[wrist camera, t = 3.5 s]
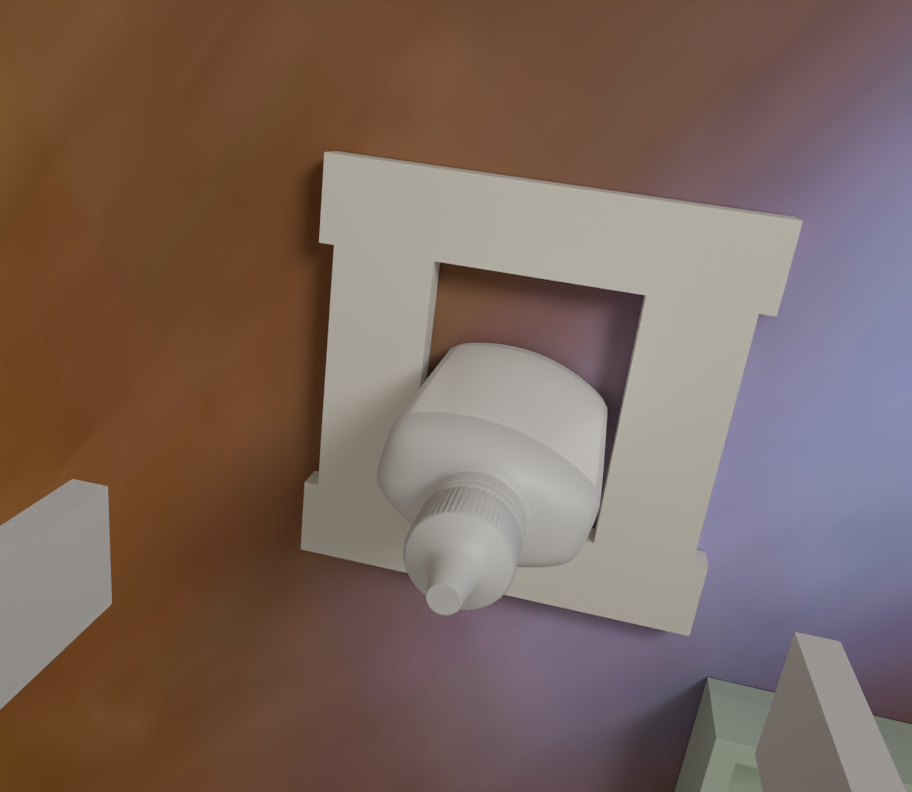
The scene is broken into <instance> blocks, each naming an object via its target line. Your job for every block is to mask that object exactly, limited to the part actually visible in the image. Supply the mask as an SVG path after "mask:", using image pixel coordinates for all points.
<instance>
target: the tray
mask: <svg viewBox="0 0 912 792" xmlns="http://www.w3.org/2000/svg"><path fill="white" fill-rule="evenodd" d="M774 694H775V693H774V692H769V691H765V690H761V689H756V688H752V687H748V686H743V685H739V684H735V683H730V682H726V681H721V680H717V679H713V678H707V681H706V684H705V688H704V691H703V695H702V698H701V702H700V705H699V709H698V712H697V716H696V719H695V722H694V726H693V729H692V733H691V736H690V740H689V743H688V747H687V750H686V753H685V757H684V760H683V764H682V767H681V771H680V774H679V778H678V781H677V785H676V788H675V791H674V792H763V788H762V784H761V779H760V775H759V770H758V766H757V761H756V757H755V752H756V749H757V746H758V743H759V740H760V737H761V734H762V731H763V728H764V724H765V721H766V718H767V715H768V712H769V709H770V706H771V703H772V700H773V697H774ZM873 717H874V719H875V722H876V724H877V726H878V728H879V731H880V733H881V735H882V738H883V740H884V742H885V744H886V747H887V749H888V751H889V754H890V756H891V758H892V760H893V763H894V765H895V767H896V770H897V772H898V774H899V776H900V779H901V781H902V783H903V786H904V788H905V790H906V792H912V724H908V723H904V722H899V721H895V720H891V719H886V718H882V717H878V716H873Z"/></svg>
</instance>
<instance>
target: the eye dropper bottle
mask: <svg viewBox="0 0 912 792" xmlns="http://www.w3.org/2000/svg"><path fill="white" fill-rule="evenodd" d="M607 411H608V409H607V406H606V404H605V402H604V400H603V398H602V397H601V396H600V395H599V393H598V392H597V391H596V390H595V389H594V388H592V387H591V386H590V385H589V384H588V383H587V382H586V381H584V380H583V379H582V378H581V377H579V376H578V375H577V374H575V373H574V372H572V371H571V370H569V369H568V368H566V367H565V366H563V365H561V364H559V363H557V362H556V361H554V360H552V359H550V358H547V357H545V356H543V355H540V354H538V353H535V352H532V351H529V350H526V349H522V348H518V347H514V346H509V345H503V344H494V343H464V344H460V345H457V346H455V347H452V348H451V349H450V350H449V351H448V353H447V354H446V355H445V356H444V358H443V359H442V360H441V362H440V363H439V364H438V365H437V367H436V368H435V369H434V371H433V372H432V373H431V374H430V376H429V377H428V378H427V380H426V381H425V382H424V384H423V385H422V386H421V388H420V389H419V390H418V391H417V393H416V394H415V395H414V397H413V398H412V399H411V401H410V402H409V403H408V405H407V406H406V407H405V409H404V410H403V411H402V413H401V414H400V416H399V417H398V419H397V420H396V421H395V423H394V424H393V426H392V428H391V430H390V433H389V435H388V438H387V440H386V443H385V446H384V449H383V452H382V455H381V458H380V462H379V466H378V470H377V484H378V486H379V488H380V490H381V492H382V494H383V495H384V497H385V498H386V499H387V500H388V501H389V503H390V504H391V505H392V506H393V507H394V508H395V509H396V510H397V511H398V512H399V513H400V514H401V515H402V516H403V517H404V518H405V519H406V520H407V521H408V522H409V523H411V524H412V526H411V528H410V530H409V532H408V534H407V537H406V539H405V543H404V549H403V552H404V554H403V557H404V560H403V561H404V563H405V568H406V569H407V570H406V572H407V573H408V574H409V577H410V579H411V581H412V582H413V583H414V586H415V587H417V588H418V590H419V591H420V592H422V594H423V595H425V596H426V601H427V604H428V606H429V607H430V608H431V609H432V610H433V611H434V612H436V613H438V614H440V615H451V614H454V613H456V612H457V611H458V610H472V609H475V610H477V609H478V608H482V607H487V606H488V605H491V604H493V602H497V599H500V598H501V597H502V596H503V595H505V592H506V591H508V589H509V587H510V586H511V584H512V582H513V580H514V577H515V573H516V569H517V567H551V566H559V565H562V564H565V563H568V562H570V561H572V560H573V559H574V558H575V557H576V556H577V555H578V554H579V552H580V551H581V549H582V547H583V545H584V543H585V541H586V539H587V537H588V535H589V533H590V531H591V528H592V526H593V524H594V521H595V519H596V516H597V513H598V510H599V507H600V499H601V491H602V481H603V468H604V455H605V442H606V427H607Z"/></svg>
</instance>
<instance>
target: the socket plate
mask: <svg viewBox="0 0 912 792" xmlns="http://www.w3.org/2000/svg"><path fill="white" fill-rule="evenodd" d="M802 223H803V221H802V220H800V219H799V218H797V217H793V216H786V215H779V214H772V213H765V212H758V211H751V210H744V209H737V208H730V207H723V206H716V205H709V204H702V203H695V202H688V201H681V200H674V199H667V198H660V197H653V196H646V195H639V194H632V193H625V192H618V191H611V190H604V189H597V188H590V187H583V186H576V185H569V184H562V183H555V182H548V181H541V180H534V179H527V178H520V177H513V176H506V175H499V174H492V173H485V172H478V171H472V170H465V169H458V168H451V167H444V166H437V165H430V164H423V163H416V162H409V161H402V160H395V159H388V158H381V157H374V156H367V155H360V154H353V153H346V152H339V151H331V152H324V166H323V183H322V200H321V217H320V233H319V243H325V244H331V245H334V252H333V267H332V282H331V297H330V312H329V327H328V342H327V357H326V372H325V387H324V402H323V418H322V433H321V448H320V463H319V471H314V472H313V473H312V475H311V476H310V477H309V478H308V479H307V480H306V481H305V484H304V501H303V518H302V535H301V549H302V550H306V551H311V552H315V553H320V554H324V555H329V556H333V557H338V558H342V559H347V560H351V561H356V562H360V563H365V564H369V565H373V566H378V567H382V568H387V569H391V570H396V571H400V572H405V573H407V572H406V570H407V569H406V568H405V563H404V561H403V560H404V557H403V554H404V552H403V549H404V543H405V539H406V537H407V534H408V532H409V530H410V528H411V526H412V524H411V523H409V522H408V521H407V520H406V519H405V518H404V517H403V516H402V515H401V514H400V513H399V512H398V511H397V510H396V509H395V508H394V507H393V506H392V505H391V504H390V503H389V501H388V500H387V499H386V498H385V497H384V495H383V494H382V492H381V490H380V488H379V486H378V484H377V470H378V466H379V462H380V458H381V455H382V452H383V449H384V446H385V443H386V440H387V438H388V435H389V433H390V430H391V428H392V426H393V424H394V423H395V421H396V420H397V419H398V417H399V416H400V414H401V413H402V411H403V410H404V409H405V407H406V406H407V405H408V403H409V402H410V401H411V399H412V398H413V397H414V395H415V394H416V393H417V391H418V390H419V389H420V388H421V386H422V385H423V384H424V382H425V381H426V380H427V373H428V365H429V356H430V347H431V339H432V330H433V321H434V313H435V304H436V295H437V286H438V278H439V269H440V262H442V263H448V264H455V265H461V266H467V267H473V268H479V269H486V270H492V271H498V272H504V273H510V274H516V275H523V276H529V277H535V278H541V279H547V280H554V281H560V282H566V283H572V284H578V285H584V286H591V287H597V288H603V289H609V290H615V291H622V292H628V293H634V294H640V295H644V298H643V303H642V308H641V312H640V317H639V322H638V327H637V331H636V336H635V341H634V346H633V350H632V355H631V360H630V365H629V369H628V374H627V379H626V384H625V388H624V393H623V398H622V403H621V408H620V412H619V417H618V422H617V427H616V431H615V436H614V441H613V446H612V450H611V455H610V460H609V465H608V469H607V474H606V479H605V484H604V489H603V493H602V498H601V503H600V508H599V512H598V517H597V522H596V527H595V529H594V528H591V531H590V533H589V535H588V537H587V539H586V541H585V543H584V545H583V547H582V549H581V551H580V552H579V554H578V555H577V556H576V557H575V558H574V559H573V560H572V561H570V562H568V563H565V564H562V565H559V566H551V567H517V569H516V573H515V577H514V580H513V582H512V584H511V586H510V587H509V589H508V591H506V592H505V595H508V596H512V597H517V598H521V599H525V600H530V601H534V602H539V603H543V604H548V605H552V606H557V607H561V608H566V609H570V610H575V611H579V612H584V613H588V614H593V615H597V616H601V617H606V618H610V619H615V620H619V621H624V622H628V623H633V624H637V625H642V626H646V627H651V628H655V629H660V630H664V631H669V632H673V633H678V634H682V635H686V636H690V632H691V629H692V625H693V621H694V618H695V614H696V610H697V607H698V603H699V599H700V596H701V592H702V588H703V585H704V581H705V577H706V574H707V570H708V563H707V557H706V552H705V551H700V550H697V546H698V542H699V538H700V535H701V531H702V527H703V523H704V520H705V516H706V512H707V508H708V504H709V501H710V497H711V493H712V489H713V486H714V482H715V478H716V474H717V470H718V467H719V463H720V459H721V455H722V452H723V448H724V444H725V440H726V436H727V433H728V429H729V425H730V421H731V418H732V414H733V410H734V406H735V402H736V399H737V395H738V391H739V387H740V384H741V380H742V376H743V372H744V368H745V365H746V361H747V357H748V353H749V350H750V346H751V342H752V338H753V334H754V331H755V327H756V323H757V319H758V316H759V314H764V315H770V316H776V317H777V314H778V310H779V307H780V303H781V299H782V296H783V292H784V288H785V285H786V281H787V277H788V274H789V270H790V266H791V263H792V259H793V255H794V252H795V248H796V244H797V241H798V237H799V233H800V230H801V226H802Z"/></svg>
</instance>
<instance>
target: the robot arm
mask: <svg viewBox="0 0 912 792" xmlns="http://www.w3.org/2000/svg"><path fill="white" fill-rule="evenodd" d="M111 604H112V594H111V565H110V536H109V507H108V486H104V485H99V484H94V483H89V482H85V481H80V480H75V479H72V480H70V481H69V482H67V483H66V484H64V485H63V486H61V487H59V488H58V489H56V490H55V491H53V492H52V493H50V494H49V495H47V496H46V497H44V498H42V499H41V500H39V501H38V502H36V503H35V504H33V505H32V506H30V507H29V508H27V509H26V510H24V511H22V512H21V513H19V514H18V515H16V516H15V517H13V518H12V519H10V520H9V521H7V522H6V523H4V524H2V525H1V526H0V709H1V708H2V707H3V706H5V705H6V704H7V703H8V702H9V701H10V700H11V699H12V698H13V697H14V696H15V695H16V694H17V693H18V692H19V691H20V690H21V689H22V688H23V687H25V686H26V685H27V684H28V683H29V682H30V681H31V680H32V679H33V678H34V677H35V676H36V675H37V674H38V673H39V672H40V671H41V670H42V669H44V668H45V667H46V666H47V665H48V664H49V663H50V662H51V661H52V660H53V659H54V658H55V657H56V656H57V655H58V654H59V653H60V652H61V651H63V650H64V649H65V648H66V647H67V646H68V645H69V644H70V643H71V642H72V641H73V640H74V639H75V638H76V637H77V636H78V635H79V634H80V633H81V632H83V631H84V630H85V629H86V628H87V627H88V626H89V625H90V624H91V623H92V622H93V621H94V620H95V619H96V618H97V617H98V616H99V615H100V614H102V613H103V612H104V611H105V610H106V609H107V608H108V607H109V606H110V605H111ZM755 757H756V761H757V766H758V770H759V775H760V779H761V784H762V788H763V792H906V790H905V788H904V786H903V783H902V781H901V779H900V776H899V774H898V772H897V770H896V767H895V765H894V763H893V760H892V758H891V756H890V754H889V751H888V749H887V747H886V744H885V742H884V740H883V738H882V735H881V733H880V731H879V728H878V726H877V724H876V722H875V719H874V717H873V715H872V712H871V710H870V708H869V706H868V703H867V701H866V699H865V697H864V694H863V692H862V690H861V687H860V685H859V683H858V681H857V678H856V676H855V674H854V671H853V669H852V667H851V665H850V662H849V660H848V658H847V655H846V653H845V651H844V649H843V646H842V644H841V642H840V641H836V640H831V639H826V638H821V637H817V636H812V635H807V634H803V633H798V632H795V633H794V636H793V639H792V642H791V645H790V648H789V651H788V654H787V657H786V660H785V663H784V666H783V669H782V672H781V675H780V679H779V682H778V685H777V688H776V691H775V694H774V697H773V700H772V703H771V706H770V709H769V712H768V715H767V718H766V721H765V724H764V728H763V731H762V734H761V737H760V740H759V743H758V746H757V749H756V752H755Z"/></svg>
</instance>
